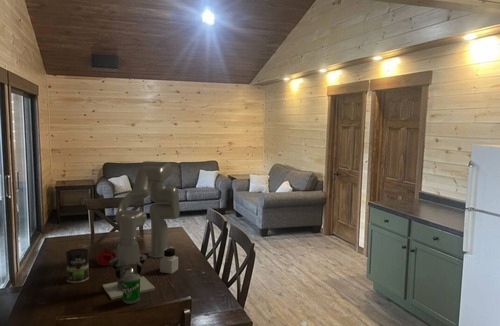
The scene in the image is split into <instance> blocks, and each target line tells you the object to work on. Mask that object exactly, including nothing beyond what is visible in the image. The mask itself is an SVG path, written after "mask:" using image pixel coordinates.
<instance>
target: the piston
mask: <svg viewBox="0 0 500 326" xmlns="http://www.w3.org/2000/svg"><path fill="white" fill-rule="evenodd" d="M122 267H123V268H122V277H123V276H124V275H125V274H127V273H131V272H135V266H132V265H125V266H122Z"/></svg>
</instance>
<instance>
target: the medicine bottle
mask: <svg viewBox="0 0 500 326" xmlns="http://www.w3.org/2000/svg"><path fill="white" fill-rule="evenodd" d="M178 270H179V256H176V248H175V249H173V248H166V249H164V250H163V257H162V258H159V272H160V273H163V274H164V273H166V274H170V275H172V274H173V273H175V272H176V271H178Z"/></svg>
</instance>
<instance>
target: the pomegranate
mask: <svg viewBox="0 0 500 326" xmlns="http://www.w3.org/2000/svg"><path fill="white" fill-rule="evenodd" d="M98 252H99V253H97V255H96V258H95V260H96V263H97V264H98V265H99V266H103V267H108V266H111V265H110V263H109V262H110V261H111V260H113V259H114V258H116V256H115V253H114V251H112V250H111V248H110V249H109V248H108V247H105V248H104V249H102V250H100V251H98Z"/></svg>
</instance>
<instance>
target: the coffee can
mask: <svg viewBox="0 0 500 326" xmlns="http://www.w3.org/2000/svg"><path fill="white" fill-rule="evenodd" d="M65 256H66V258H65V259H66V282H67V283H70V284H79V283H83V282H86V281H88V280H89V279H90V276H89V275H90V273H89V272H90V270H89V266H90V265H89V249H86V248H74V249H70V250H68V251H66V252H65Z"/></svg>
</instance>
